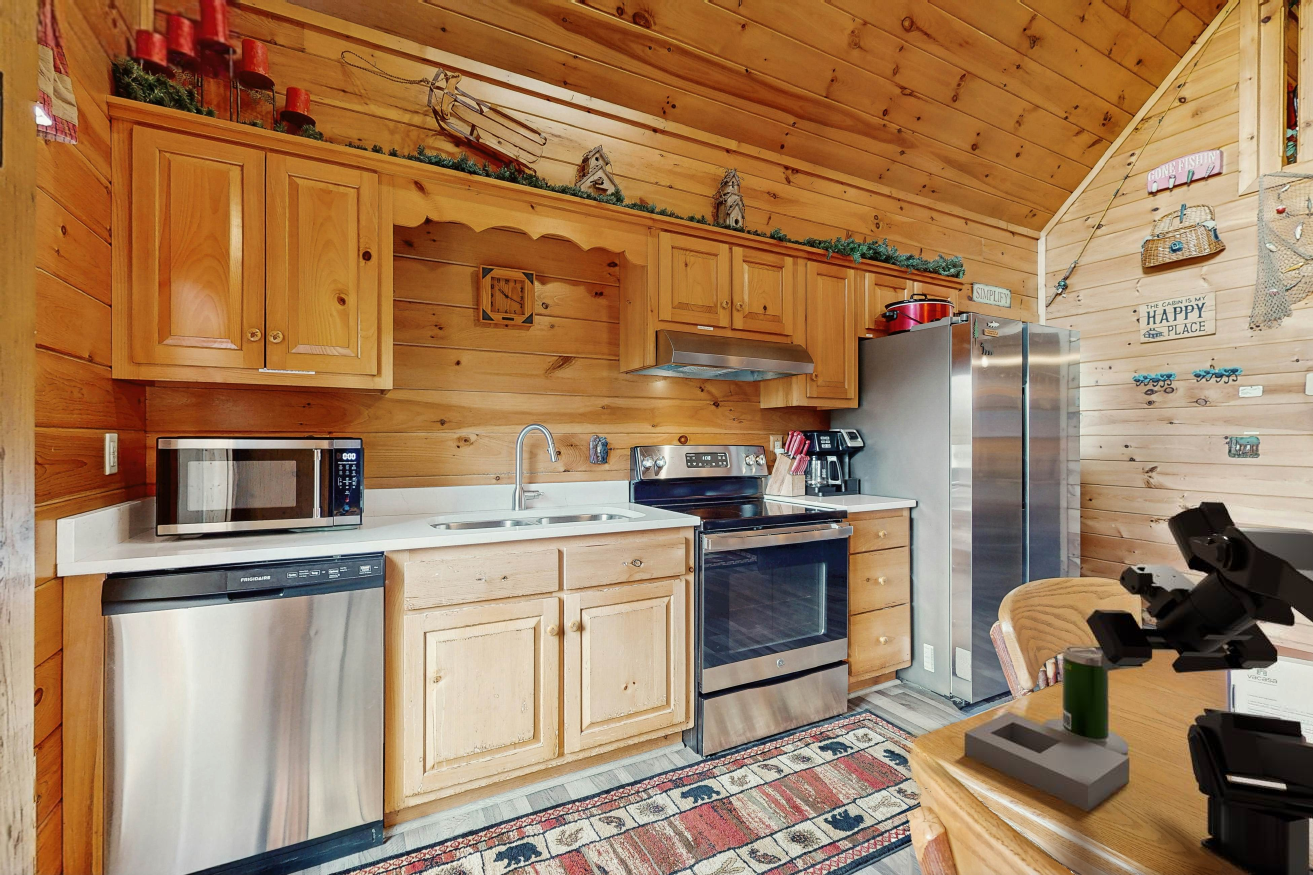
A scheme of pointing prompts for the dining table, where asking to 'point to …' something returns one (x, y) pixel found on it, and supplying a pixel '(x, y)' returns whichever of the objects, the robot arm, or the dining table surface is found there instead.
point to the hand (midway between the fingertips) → (1139, 668)
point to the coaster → (1111, 743)
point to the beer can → (1085, 695)
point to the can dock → (1048, 759)
